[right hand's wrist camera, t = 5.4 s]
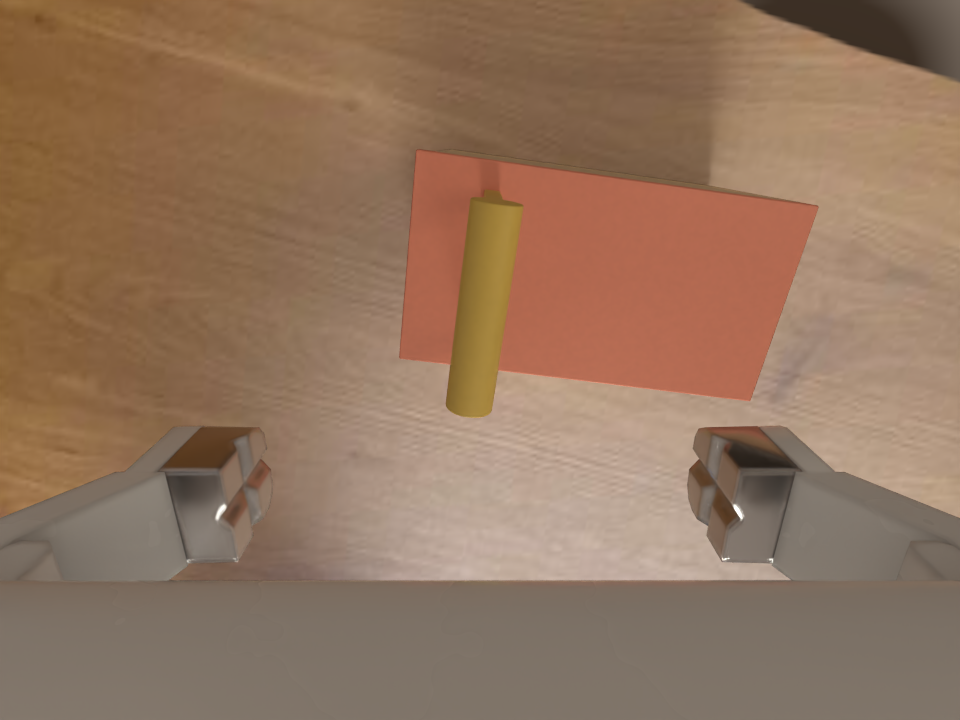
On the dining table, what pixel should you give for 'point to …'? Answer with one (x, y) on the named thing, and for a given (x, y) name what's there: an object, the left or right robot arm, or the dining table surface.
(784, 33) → the dining table surface
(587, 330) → the lid
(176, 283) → the dining table surface
